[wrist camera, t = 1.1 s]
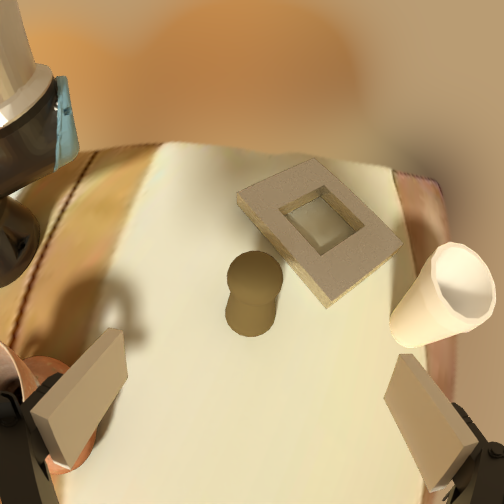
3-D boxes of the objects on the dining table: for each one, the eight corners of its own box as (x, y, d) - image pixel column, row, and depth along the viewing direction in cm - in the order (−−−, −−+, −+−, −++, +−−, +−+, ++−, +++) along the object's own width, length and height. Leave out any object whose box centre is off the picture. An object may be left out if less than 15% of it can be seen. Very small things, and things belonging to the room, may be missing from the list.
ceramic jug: (114, 365, 32) (52, 324, 20) (120, 482, 24) (54, 502, 12) (7, 357, 30) (-61, 318, 18) (6, 455, 23) (-69, 445, 11)
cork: (259, 282, 39) (268, 231, 30) (284, 322, 36) (303, 281, 27) (216, 303, 37) (210, 256, 28) (240, 345, 34) (242, 312, 25)
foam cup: (416, 373, 33) (481, 343, 22) (366, 329, 36) (417, 283, 25) (445, 321, 37) (502, 278, 26) (400, 281, 40) (448, 227, 29)
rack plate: (236, 203, 45) (237, 192, 43) (311, 168, 51) (314, 157, 48) (326, 309, 37) (331, 301, 35) (396, 252, 42) (403, 243, 40)
